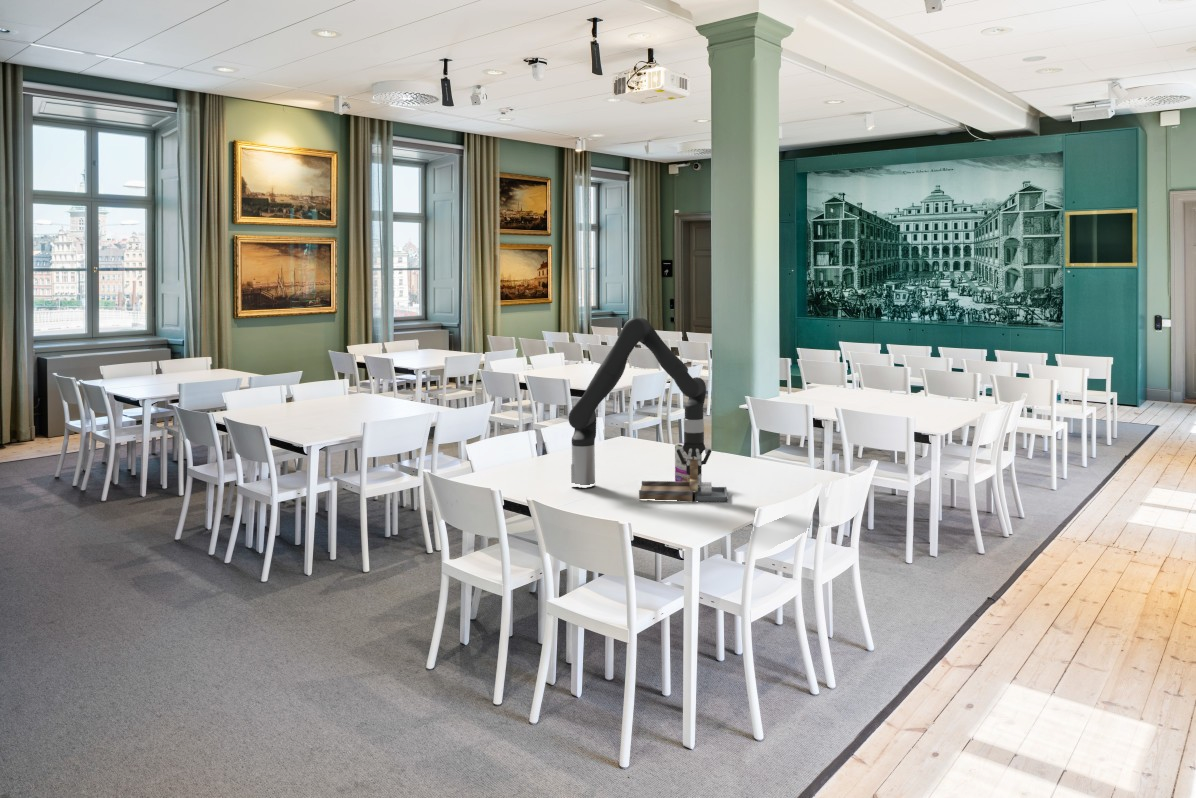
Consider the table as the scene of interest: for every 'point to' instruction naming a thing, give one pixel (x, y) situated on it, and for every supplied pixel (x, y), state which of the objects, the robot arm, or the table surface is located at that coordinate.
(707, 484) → the grey cube
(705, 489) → the gray cube
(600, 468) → the table surface
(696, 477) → the tan stepped block
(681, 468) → the candy bar box
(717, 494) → the tray
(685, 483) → the slot board
